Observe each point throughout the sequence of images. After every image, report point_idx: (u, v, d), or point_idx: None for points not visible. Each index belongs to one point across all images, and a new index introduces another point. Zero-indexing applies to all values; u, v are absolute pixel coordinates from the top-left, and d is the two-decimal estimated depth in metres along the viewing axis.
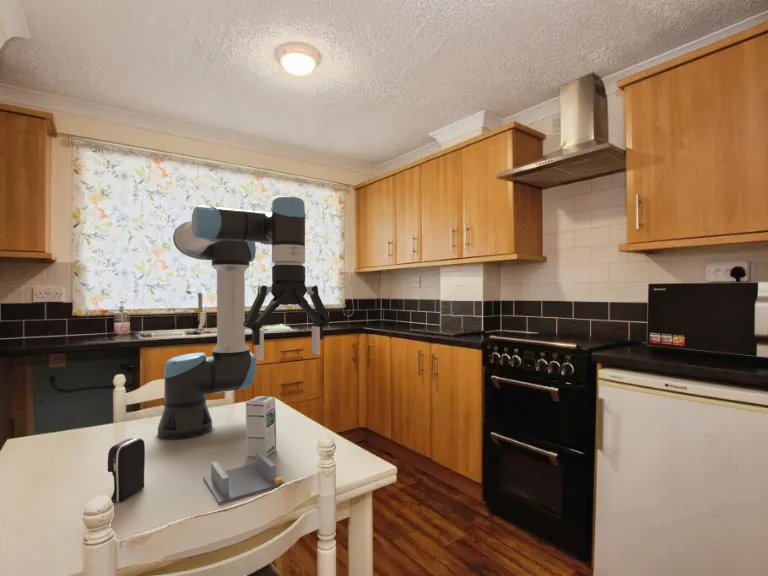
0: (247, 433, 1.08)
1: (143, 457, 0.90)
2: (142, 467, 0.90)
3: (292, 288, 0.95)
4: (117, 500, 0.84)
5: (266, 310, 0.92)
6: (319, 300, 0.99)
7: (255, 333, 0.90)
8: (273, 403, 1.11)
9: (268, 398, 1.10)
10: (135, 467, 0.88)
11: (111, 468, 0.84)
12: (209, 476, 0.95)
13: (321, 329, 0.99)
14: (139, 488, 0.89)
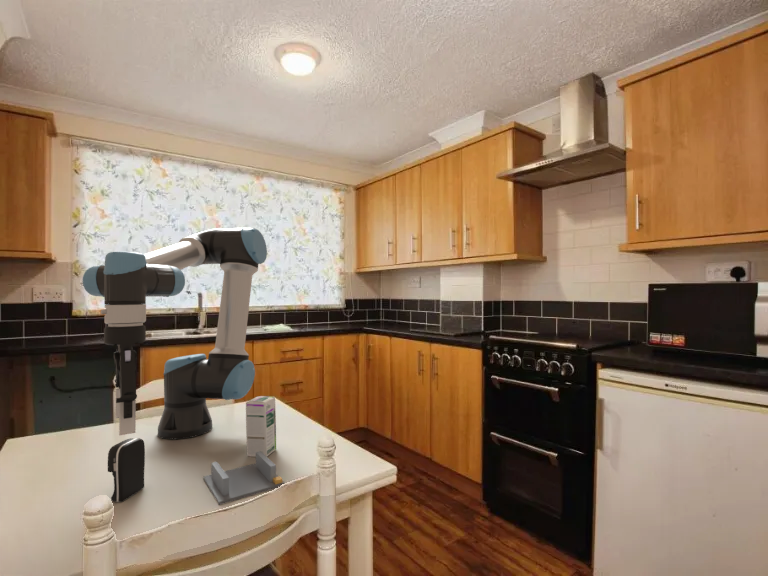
0: (247, 433, 1.08)
1: (143, 457, 0.90)
2: (142, 467, 0.90)
3: (119, 351, 0.87)
4: (117, 500, 0.84)
5: None
6: (120, 369, 0.81)
7: None
8: (273, 403, 1.11)
9: (268, 398, 1.10)
10: (135, 467, 0.88)
11: (111, 468, 0.84)
12: (209, 476, 0.95)
13: (123, 406, 0.81)
14: (139, 488, 0.89)
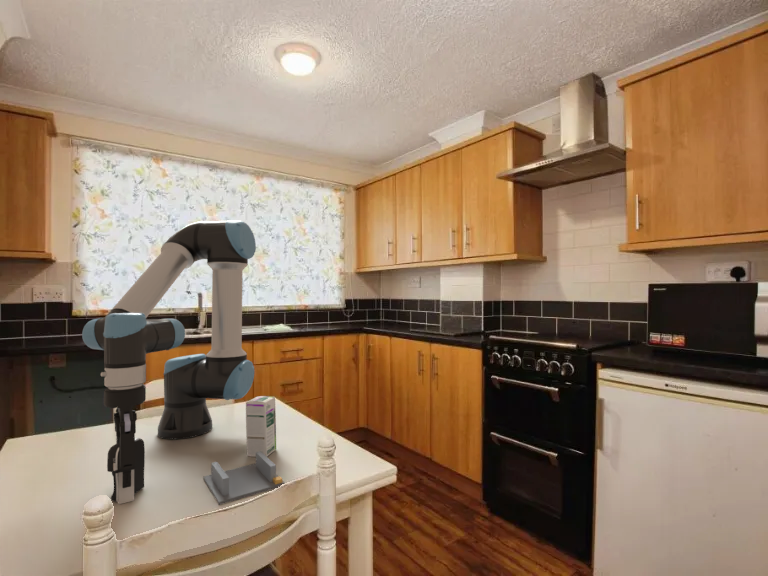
0: (247, 433, 1.08)
1: (143, 457, 0.90)
2: (142, 467, 0.90)
3: (119, 408, 0.86)
4: (116, 500, 0.84)
5: None
6: (120, 440, 0.82)
7: None
8: (273, 403, 1.11)
9: (268, 398, 1.10)
10: None
11: (110, 468, 0.85)
12: (209, 476, 0.95)
13: (122, 476, 0.83)
14: (139, 488, 0.89)
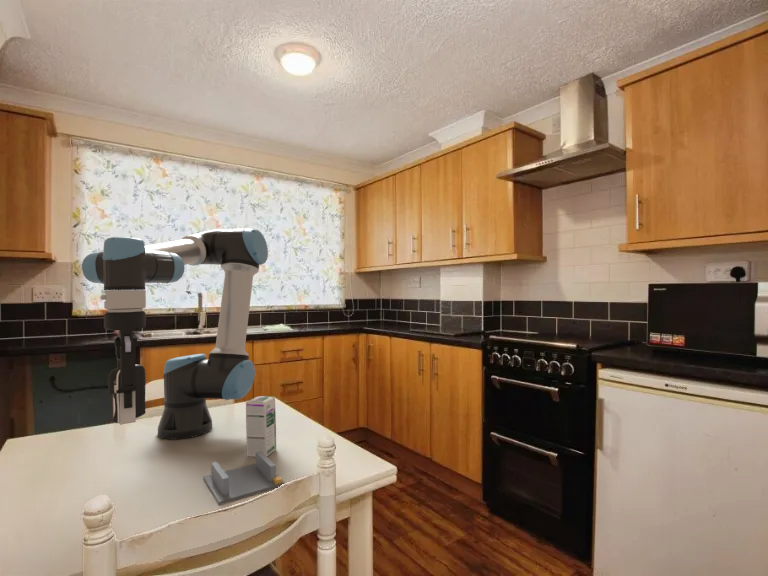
0: (247, 433, 1.08)
1: (144, 383, 0.91)
2: (143, 393, 0.90)
3: (119, 332, 0.87)
4: (118, 421, 0.85)
5: None
6: (121, 360, 0.82)
7: None
8: (273, 403, 1.11)
9: (268, 398, 1.10)
10: (135, 391, 0.88)
11: (111, 390, 0.85)
12: (209, 476, 0.95)
13: (123, 396, 0.84)
14: (140, 413, 0.90)
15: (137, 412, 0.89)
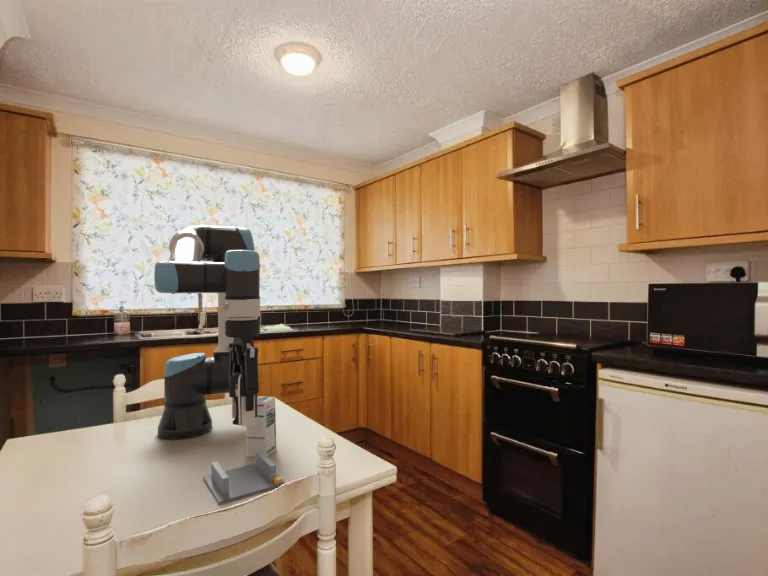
0: (247, 433, 1.08)
1: None
2: (256, 397, 0.95)
3: (238, 339, 0.92)
4: (239, 423, 0.90)
5: None
6: (245, 366, 0.88)
7: None
8: (273, 403, 1.11)
9: (268, 398, 1.10)
10: None
11: (233, 394, 0.90)
12: (209, 476, 0.95)
13: (246, 399, 0.89)
14: None
15: None
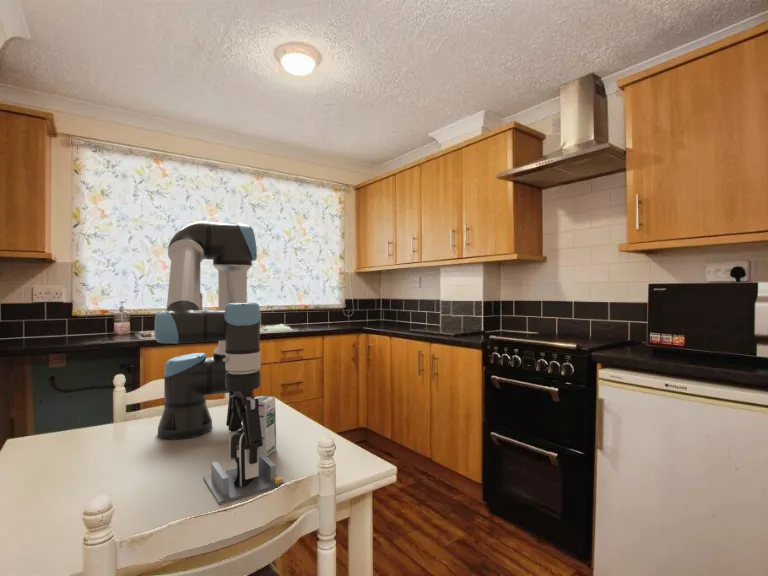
0: None
1: None
2: None
3: (238, 395, 0.92)
4: (240, 485, 0.89)
5: None
6: (247, 418, 0.87)
7: None
8: (273, 403, 1.11)
9: (268, 398, 1.10)
10: None
11: (234, 454, 0.90)
12: (209, 476, 0.95)
13: (250, 452, 0.87)
14: None
15: None
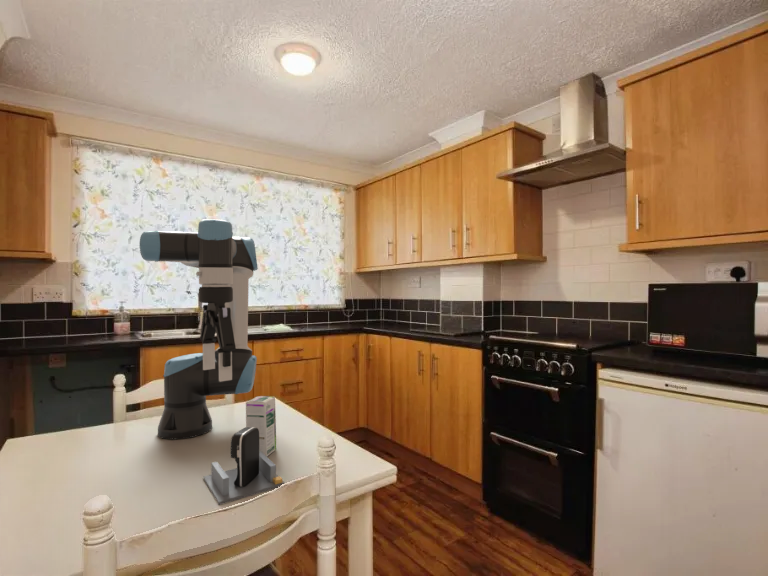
0: None
1: (258, 445, 0.95)
2: (258, 454, 0.95)
3: (211, 309, 0.97)
4: (240, 485, 0.89)
5: None
6: (220, 324, 0.92)
7: None
8: (273, 403, 1.11)
9: (268, 398, 1.10)
10: (253, 454, 0.93)
11: (234, 454, 0.90)
12: (209, 476, 0.95)
13: (223, 356, 0.92)
14: (256, 474, 0.94)
15: (254, 474, 0.93)
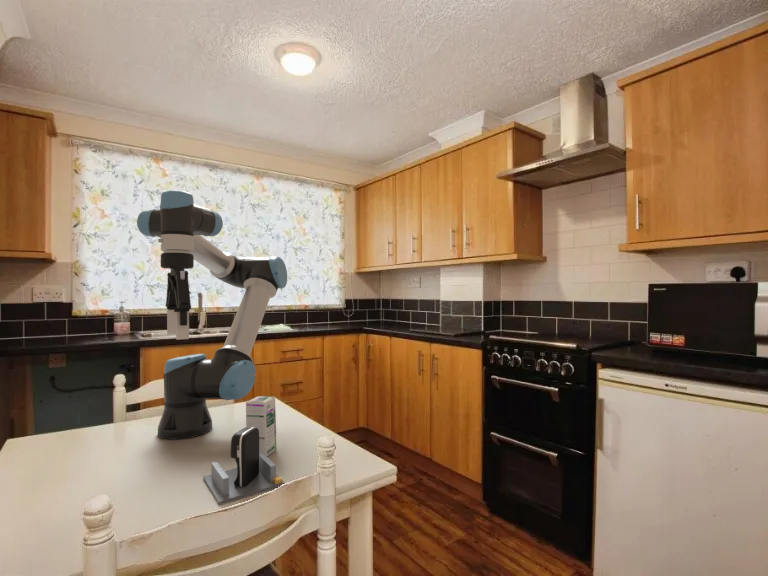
0: None
1: (258, 445, 0.95)
2: (258, 454, 0.95)
3: (172, 274, 1.04)
4: (240, 485, 0.89)
5: None
6: (177, 285, 0.98)
7: None
8: (273, 403, 1.11)
9: (268, 398, 1.10)
10: (253, 454, 0.93)
11: (234, 454, 0.90)
12: (209, 476, 0.95)
13: (180, 315, 0.98)
14: (256, 474, 0.94)
15: (254, 474, 0.93)
